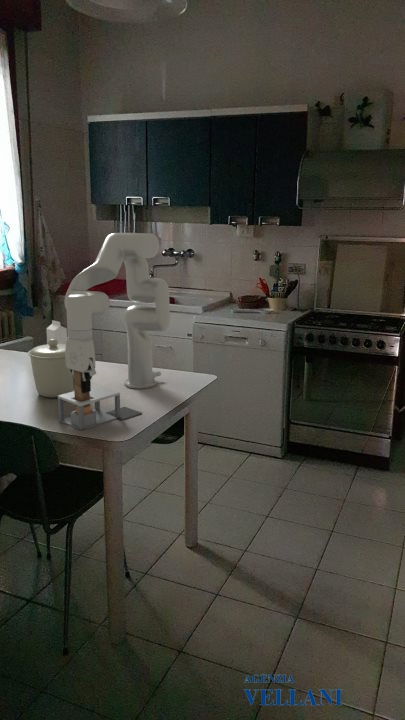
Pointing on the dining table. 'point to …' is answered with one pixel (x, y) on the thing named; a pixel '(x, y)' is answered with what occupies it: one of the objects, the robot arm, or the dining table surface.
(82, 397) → the brown wooden bar
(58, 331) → the milk
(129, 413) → the pad
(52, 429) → the dining table surface
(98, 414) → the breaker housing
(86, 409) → the breaker button
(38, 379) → the canister
